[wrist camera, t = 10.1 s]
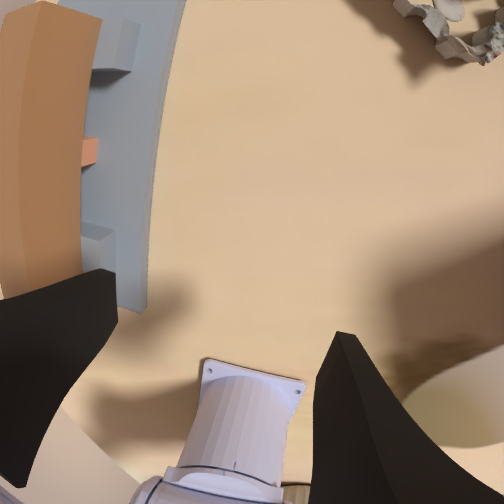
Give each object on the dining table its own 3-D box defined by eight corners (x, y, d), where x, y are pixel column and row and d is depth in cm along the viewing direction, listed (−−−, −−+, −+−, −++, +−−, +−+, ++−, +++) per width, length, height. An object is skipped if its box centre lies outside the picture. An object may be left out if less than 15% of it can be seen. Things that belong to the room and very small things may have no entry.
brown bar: (83, 277, 19) (36, 317, 14) (48, 264, 19) (1, 299, 14) (102, 19, 12) (42, 0, 8) (61, 26, 12) (1, 15, 8)
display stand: (146, 306, 22) (128, 329, 20) (48, 271, 23) (26, 287, 20) (189, -13, 13) (170, -32, 11) (66, 3, 14) (40, -5, 11)
